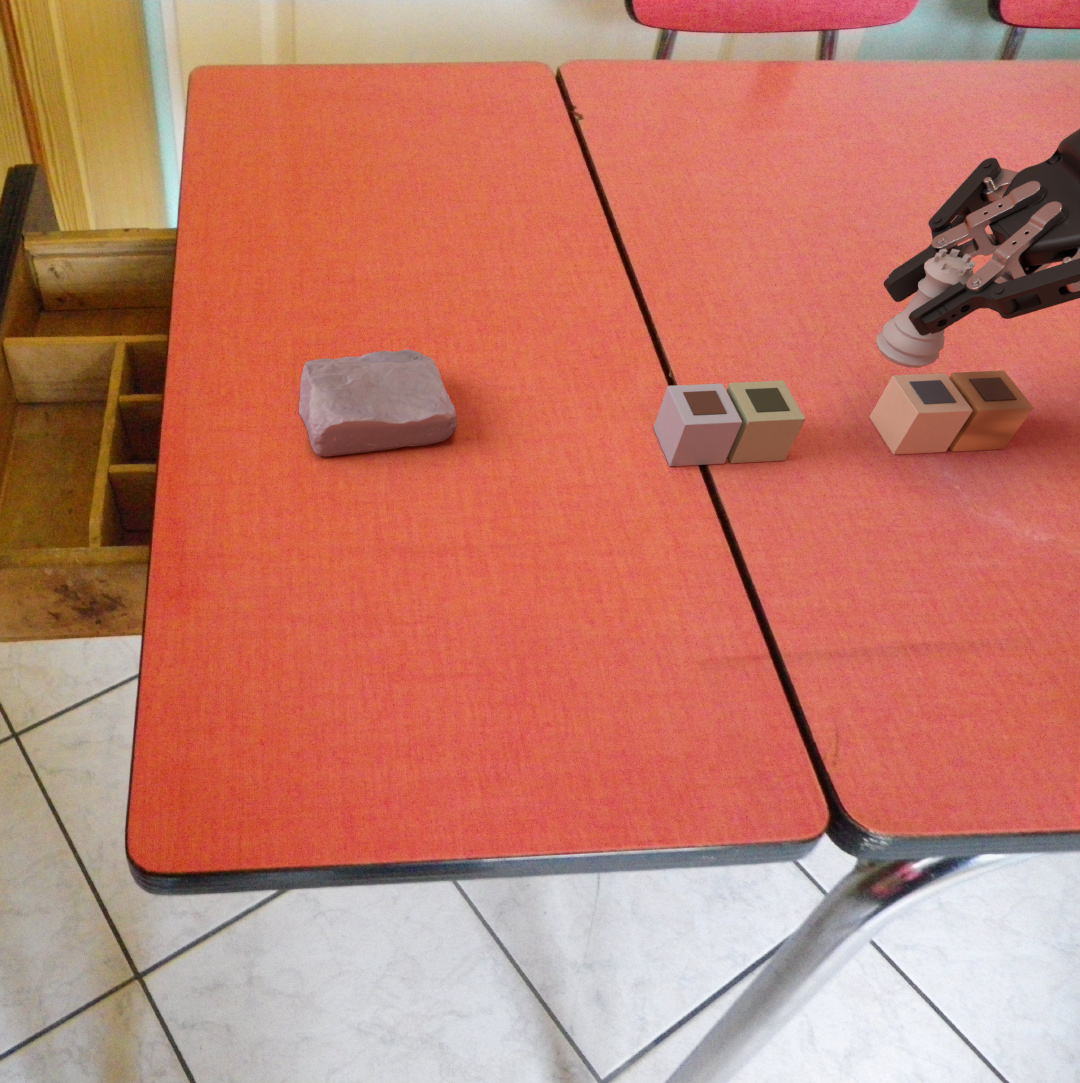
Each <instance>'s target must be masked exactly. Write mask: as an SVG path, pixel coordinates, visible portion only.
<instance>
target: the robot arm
mask: <svg viewBox="0 0 1080 1083" xmlns="http://www.w3.org/2000/svg"><path fill="white" fill-rule="evenodd" d="M988 226H989V229H990V230H991V232H992V233H988V232H987V231H986V228H987V227H988ZM928 227H929V228H930V232H931V243H930V244H929V245H928V246H927V247H926V248H925V249H923V250H922V251H920V252H918V253H917V254H916V255H914V256H913V257H911V258H910V259H908V260H907V261H905V262H904V263H902V264H901V265H899V266H896V268H894V269H893V270H892V271H891V272H890V273H889V274H888V277H886V278H885V280H884V281H883V287H884V288H885V290H886V291H887V293H888V295H889V296H890V297H891V298H892V300H893V301H894V303H895V302H896V303H901V302H903V301H905V300H906V299H908V298H909V297H911V296H913V295H915V294H916V292H917V291H918V289H919V288H918V282H919V281H920V280H922V279H924V278H925V277H926V272H925V269H924V265H925V262H926V261H928V260H929V259H931V258H933V257H935V255H936V253H939V251H940V250H942V249H946V250H947V253H946V254H950V252H951V251H952V249H956V250H960V251H959V253H958V255H957V256H958V257H960V258H963V256H964V255H965V254H969V255H970V256H971V257H972V259H973V258H975V257H977V256H985V257H986V256H990V255H992V256H991V259H990V260H988V262H986V263H985V264H984V265H983V266H981V268H979V269H978V270H977V271H976V272H973V273H974V274H973V275H972V276H971V277H970V278H969V279H968V280H967V282H966V285H964V286H963V285H962V284H961V282H958V283H957V284H955V285H953V286H952V287H950V288H949V289H947V290H945V291H944V292H942V293H941V294H939V295H938V296H936V297H934V298H933V299H931V300H930V301H928V302H926V303H925V304H923V305H922V306H920V307H919V308H917V309H915V310H914V311H912V312H911V313H910V315H909V320H910V321H911V323H912V324H913V326H914V327H915V329H916V330H917V331H918V333H919V334H920V335H922V336H924V335H928V334H929V333H931V334H934V333H937V332H941V331H942V330H944V331H945V330H946V329H947V328H949V327H950V326H952V325H954V324H955V323H957V322H958V321H960V320H963V318H965V317H967V316H969V315H970V314H972V313H973V312H975V311H977V310H980V309H982V310H984V309H985V310H986V309H989V310H991V311H994V312H997V313H998V314H999V316H1000V318H1002V319H1005V320H1010V319H1014V318H1017V317H1021V316H1024V315H1027V314H1028V315H1029V314H1031V313H1034V312H1038V311H1041V310H1045V309H1048V308H1051V307H1055V306H1058V305H1062V304H1064V303H1068V302H1072V301H1075V300H1078V299H1080V128H1078V129H1077V130H1075V131H1074V132H1072V133H1070V134H1069V135H1068V136H1066V137H1065V138H1063V139H1062V140H1061V141H1060V142H1059V144H1058V145H1057V147H1056V150H1055V151H1054V153H1053V154H1052V155H1051V156H1050V157H1049V158H1048V159H1045V160H1044V161H1042V162H1040V163H1036V164H1034V165H1030V166H1027V167H1025V168H1023V169H1021V170H1020V171H1016V170H1011V169H1007V168H1004V167H1001V165H1000V163H999V161H998V159H997V158H996V157H989V158H986V159H984V160H982V161H981V162H980V163H979V164H978V165H977V166H976V167H975V169H973V171H972V172H971V173H970V174H969V175H968V177H966V179H964V181H963V182H962V183H961V184H960V185H959V186H958V187H957V189H955V191H954V192H953V193H952V194H951V195H950V197H949V198H948V199H947V200H946V201H945V202H944V203H943V204H942V205H941V206H940V208H939V209H937V211H936V212H935V213H934V214H933V215H932V217H930V219H929V220H928ZM967 240H968V241H967ZM965 241H966V242H965ZM961 243H962V244H961ZM1054 263H1060V264H1057V265H1054V266H1051V265H1052V264H1054ZM1050 266H1051V267H1050Z"/></svg>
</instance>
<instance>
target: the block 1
mask: <svg viewBox="0 0 1080 1083" xmlns="http://www.w3.org/2000/svg"><path fill="white" fill-rule="evenodd" d="M726 390H727V388H726V387H725V385H724V384H723V383H722V382H720V383H719V382H718V383H700V384H698V383H697V384H680V385H679V384H678V385H677V384H676V385H667V387H666V389H665V392H664V396H663V398H662V401H661V404H660V407H659V410H658V413H657V416H656V419H655V422H654V424H653V430H654V433H655V436H656V437H657V440H658V442H659V444H660V447H661V449H662V451H663V454H664V457H665V458H666V461H667V464H668V466H669V467H685V466H686V467H687V466H705V465H722V464H725V463H726V461H727V458H728V454H729V451H730V449H731V447H732V445H733V442H734V440H735V438H736V435H737V433H738V431H739V428H740V426H741V424H742V420H741V418H740V416H739V414H738V413H737V411H736V409H735V407H734V405H733V403H732V401H731V399H730V397H729V395H728V393H727V391H726Z"/></svg>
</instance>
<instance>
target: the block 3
mask: <svg viewBox="0 0 1080 1083" xmlns="http://www.w3.org/2000/svg"><path fill="white" fill-rule="evenodd" d="M949 377H950V376H948V374H947V373H946V372H941V373H939V372H937V373H918V374H898V375H897V374H895V375H894V374H893V375H891V377H890V379H889V381H888V383H887V385H886V387H885V388H884V390H883V391H882V393H881V395H880V397H879V399H878V401H877V402H876V404H875V406H874V408H873V410H872V411H871V413H870V415H869V419H870V421H871V423H872V424H873V425H874V427H875V429H876V430H877V432H878V433H879V436H880V437H881V438H882V439H883V441H884V443H885V444H886V446H887V447H888V449H889V451H890V452H891V454H892V455H894V456H895V455H911V454H914V455H915V454H928V453H929V454H935V453H946V452H947V451H948V450H949V446H950V444H951V443H952V441H953V440H954V438H955V437H956V435H957V434H958V432H959V431H960V429H961V428H962V426H963V425H964V423H965V422H966V420H967V419H968V417H969V416H970V414H971V413H972V411H973V410H972V409H971V407H970V406H969V404H968V403H967V402H966V400H965V399H964V398H963V396H962V395H961V394H960V392H959V391H958V390H957V388H956V387H955V386H954V384H953V383H952V381H951V380H950V379H949Z"/></svg>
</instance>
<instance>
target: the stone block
mask: <svg viewBox="0 0 1080 1083" xmlns="http://www.w3.org/2000/svg"><path fill="white" fill-rule="evenodd" d="M298 413H299V416H300V418H301V419H302V421H303V423H304V426H305V427H306V429H307V432H308V433H307V434H308V439H309V443H310V445H311V450H313V452H314V454H316V456H319V457H323V458H324V457H333V456H343V455H352V454H353V455H354V454H361V453H369V452H370V453H371V452H374V451H387V450H388V451H389V450H394V449H398V448H405V447H422V446H429V445H433V444H437V443H438V444H439V443H441V442H444V441H446V440H449V438H450V437H451V436H452V435H453V434H455V432H456V430H457V428H458V416H457V411H456V408H455V405H454V404H453V402H452V400H451V397H450V394H449V393H448V392H447V390H446V387H445V384H444V381H443V379H442V376H441V372H440V370H439V368H438V366H437V363H436V361H435V360H433V358H432V357H431V356H429V355H424V354H423V353H422V352H420V351H416V350H412V349H408V348H407V349H401V350H398V351H390V350H382V351H381V350H380V351H373V352H368V353H365V354H363V355H361V356H345V357H339V358H329V357H327V358H318V359H317V358H316V359H311V360H307V361H305V364H304V365H303V368H302V373H301V376H300V384H299V402H298Z"/></svg>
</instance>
